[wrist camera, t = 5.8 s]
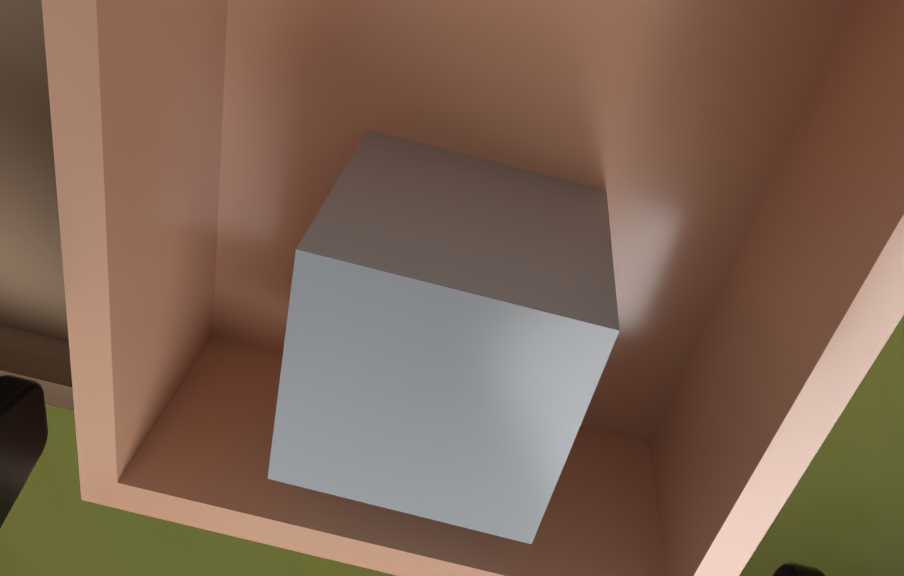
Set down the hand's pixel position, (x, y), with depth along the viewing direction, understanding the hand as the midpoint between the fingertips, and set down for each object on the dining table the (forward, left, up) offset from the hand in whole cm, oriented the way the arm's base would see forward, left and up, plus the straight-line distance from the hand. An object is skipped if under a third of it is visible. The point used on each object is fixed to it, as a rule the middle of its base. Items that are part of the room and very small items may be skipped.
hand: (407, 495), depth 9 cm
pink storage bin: (+3, 0, -6) cm, 6 cm away
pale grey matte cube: (0, 0, -5) cm, 5 cm away
